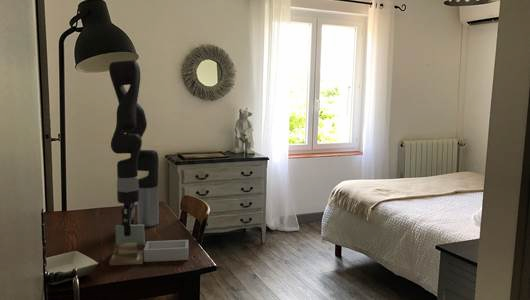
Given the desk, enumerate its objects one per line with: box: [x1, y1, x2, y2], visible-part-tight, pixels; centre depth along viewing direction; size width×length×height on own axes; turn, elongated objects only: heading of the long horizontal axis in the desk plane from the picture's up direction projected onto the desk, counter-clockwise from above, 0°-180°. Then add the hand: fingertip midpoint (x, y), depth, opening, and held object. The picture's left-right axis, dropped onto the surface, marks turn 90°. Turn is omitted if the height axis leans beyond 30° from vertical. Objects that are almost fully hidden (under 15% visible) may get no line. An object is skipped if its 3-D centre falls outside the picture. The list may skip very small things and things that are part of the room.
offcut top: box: [119, 242, 137, 254], centre depth 163 cm, size 4×6×2 cm, turn 106°
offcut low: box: [115, 249, 138, 261], centre depth 163 cm, size 4×7×2 cm, turn 98°
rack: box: [108, 241, 147, 266], centre depth 168 cm, size 14×11×4 cm
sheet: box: [114, 223, 146, 245], centre depth 172 cm, size 2×10×9 cm, turn 98°
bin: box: [143, 239, 190, 263], centre depth 170 cm, size 9×15×4 cm, turn 98°
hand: (129, 232), depth 172 cm, fingers open, 8 cm apart
